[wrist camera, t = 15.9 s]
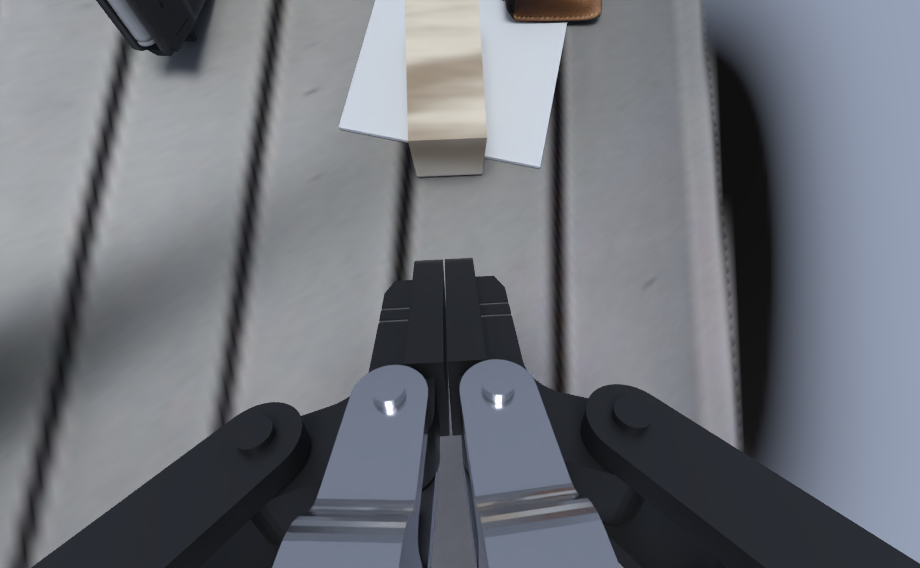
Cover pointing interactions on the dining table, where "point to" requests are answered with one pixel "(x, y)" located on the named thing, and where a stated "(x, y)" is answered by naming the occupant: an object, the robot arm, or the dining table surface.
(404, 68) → the mat
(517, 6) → the sunglasses case
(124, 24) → the magazine
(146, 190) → the dining table surface
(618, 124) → the dining table surface
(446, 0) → the birch block
